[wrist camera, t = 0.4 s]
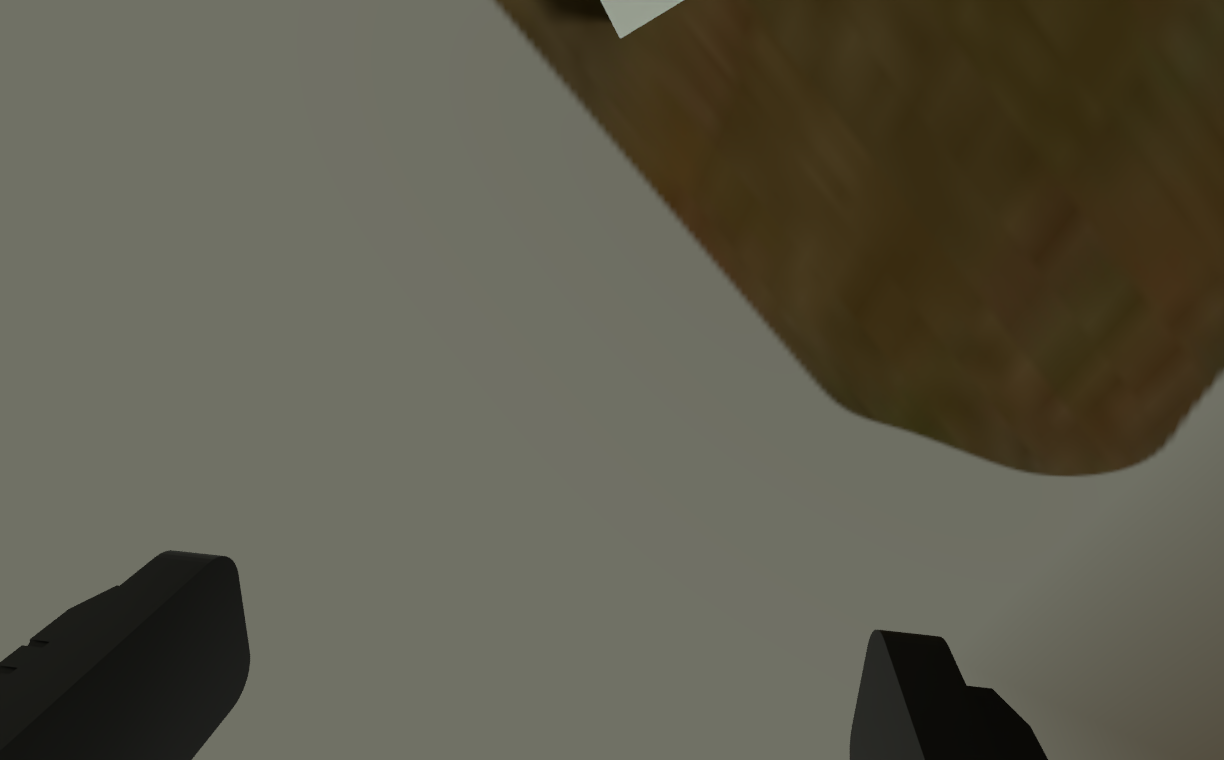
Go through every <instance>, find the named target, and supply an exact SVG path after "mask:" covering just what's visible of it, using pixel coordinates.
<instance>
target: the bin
mask: <svg viewBox="0 0 1224 760" xmlns="http://www.w3.org/2000/svg"><path fill="white" fill-rule="evenodd" d="M600 1H601V3H602V5H603V7H604V8H605V10H606V12H607V14H608V16H609V18H610V20H611V22H612V24H613V26H614V28H615V30H616V32H617V34H618V36H619V37H620V38H622V37H624V36H625V35H627V34H629V33H630V32H632V31H634V30H635V29H637V28H639V27H640V26H642V25H644V24H645V23H647V22H648V21H650V20H652V19H653V18H655V17H657V16H658V15H660V14H662V13H663V12H665V11H667V10H668V9H670V8H672V7H673V6H675V5H677V4H678V3H680V2H682V1H683V0H600Z"/></svg>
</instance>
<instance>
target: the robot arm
mask: <svg viewBox="0 0 1224 760" xmlns="http://www.w3.org/2000/svg"><path fill="white" fill-rule="evenodd" d="M249 665H250V651H249V644H248V637H247V630H246V623H245V616H244V609H243V603H242V596H241V589H240V582H239V575H238V571H237V567H236V565H235V563H234V562H233V560H231V559H230V558H228V557H226V556H217V555H208V554H199V553H190V552H180V551H171V550H170V551H166V552H163V553H161V554H159V555H158V556H156V557H155V558H154V559H152V560H151V561H150V562H149V563H147V564H146V565H145V566H144V567H142V568H141V569H140V570H139V571H137V572H136V573H135V574H134V575H133V576H131V577H130V578H129V579H128V580H126V581H125V582H124V583H123V584H121V585H120V586H115V587H113V588H111V589H109V590H107V591H105V592H103V593H101V594H99V595H97V596H95V597H93V598H91V599H89V600H86V601H85V602H82V603H80V604H78V605H76V606H74V607H72V608H70V609H68V610H67V611H66V612H65V613H63V614H62V615H61V616H60V617H58V618H57V619H56V620H54V621H53V622H52V623H51V624H49V625H48V626H47V627H45V628H44V629H43V630H41V631H40V632H39V633H38V634H36V635H35V636H34V637H32V638H31V639H30V643H29V645H28V646H21V647H19V648H18V649H17V650H16V651H14V652H13V653H12V654H10V655H9V656H8V657H7V658H5V659H4V660H3V661H1V662H0V760H192V758H193V757H194V756H195V755H196V753H197V752H198V751H199V750H200V748H201V747H202V746H203V745H204V743H205V742H206V741H207V740H208V738H209V737H210V736H211V735H212V733H213V732H214V731H215V730H216V728H217V727H218V726H219V725H220V723H221V722H222V721H223V720H224V718H225V717H226V716H227V715H228V713H229V712H230V711H231V709H232V708H233V707H234V705H235V704H236V703H237V701H238V699H239V697H240V695H241V693H242V691H243V689H244V686H245V683H246V680H247V677H248V672H249ZM850 760H1048V759H1047V757H1046V755H1045V753H1044V751H1043V749H1042V747H1041V746H1040V744H1039V742H1038V740H1037V738H1036V736H1035V734H1034V733H1033V731H1032V729H1031V727H1030V726H1029V725H1028V724H1027V723H1026V722H1025V721H1024V720H1023V719H1022V718H1021V717H1020V716H1019V715H1018V714H1017V713H1016V712H1015V711H1014V710H1013V709H1012V708H1011V707H1010V706H1009V705H1008V704H1007V703H1006V702H1005V701H1004V700H1003V699H1002V698H1001V697H1000V696H999V695H998V694H997V693H996V692H995V691H994V690H993V689H991V688H981V687H973V686H966V684H965V681H964V679H963V677H962V675H961V673H960V671H959V668H958V666H957V664H956V662H955V660H954V657H953V655H952V654H951V651H950V649H949V647H948V645H947V643H946V641H945V640H944V639H943V638H942V637H938V636H929V635H921V634H911V633H902V632H893V631H884V630H874V631H873V632H872V634H871V636H870V639H869V643H868V647H867V652H866V657H865V662H864V668H863V673H862V678H861V683H860V688H859V693H858V698H857V704H856V709H855V714H854V720H853V724H852V730H851V738H850Z"/></svg>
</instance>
